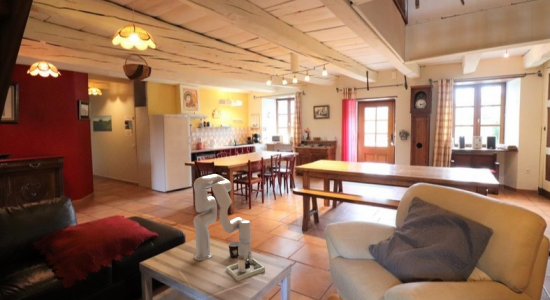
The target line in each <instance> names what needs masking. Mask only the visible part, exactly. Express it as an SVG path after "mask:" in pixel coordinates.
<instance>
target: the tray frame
mask: <svg viewBox="0 0 550 300" xmlns="http://www.w3.org/2000/svg"><path fill="white" fill-rule="evenodd" d="M251 259H252V261H251V262H250V265H251V264H253V265H254V266H256V265H257V266H259V267H260V268H258V269H256V270H254V269H253V270H250V271H248V272H244V273H242V274H239V275H238V274H236V272H235V271H233V270H234V269H236V268H237V269H238V262H237V263H234V264H230V265H228V266H226V269H225V270H226V272H228V273H229V275H230V276H232V277H233V279H234V280H236V281H237V282H239V281H241V280H243V279H246V278H249V277H251V276H254V275H257V274H262V273H265V272H266V267H265V266H264V265H263V264H262V263H261V262H259V261H258V260H256V259H255V258H254V257H251ZM247 261H248V259H247Z"/></svg>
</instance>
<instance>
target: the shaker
mask: <svg viewBox="0 0 550 300" xmlns="http://www.w3.org/2000/svg"><path fill="white" fill-rule="evenodd" d="M237 263H238V267H237V269H238V272H239V273H246V271H247V269H245V263H246V261H245V259H243V258H242V257H241V256H240V255H239V256H238V258H237Z"/></svg>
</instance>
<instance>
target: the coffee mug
mask: <svg viewBox="0 0 550 300" xmlns="http://www.w3.org/2000/svg"><path fill="white" fill-rule="evenodd" d="M238 244H239V240H237V241H236V240H234V241H230V242H228V250H229V257H230V258H231V259H238V256H239V254H238Z"/></svg>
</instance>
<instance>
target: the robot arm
mask: <svg viewBox="0 0 550 300" xmlns="http://www.w3.org/2000/svg"><path fill="white" fill-rule="evenodd" d="M193 182H194V183H193V189H194V203H195V204H194V206H195V211H196V212H197V213H199V214H197V215H195V216H194V218H193V221H192V222H193V226H194V230H195V232H194V233H195V248H196V249H195V250H196V251H195V252H196V254H195V255H194V260H196V261H198V262H203V261H206V260H210V259H211V258H213V253H212V252H211V241H210V240H211V237H210V231H209V228H208V226H210V225H212V224H214V223H216V221H217V218H218V217H219V221H220V224H221V226H222V228H223V230H224V231H225V232H226V233H227V234H231V233H234V232H235V231H238V242H239V244H238V254H239V255H240V256H241V257H242V258H243V259H245V261H246V263H245V269H246V270H248V269H251V264H250V262H251V261H252V259H251V258H252V244H251V243H252V237H251V236H252V234H251V233H252V229H251V228H252V227H251V226H252V225H251V221H250V220H249V219H244V218H242V217H239V216H236V217H233V218H231V219H230V218H229V216H228V210H229V208H230V206H231V205H232V203H233V200H232V198H231V197H230V194H229V192H231V191H232V189H233V188H232V187H233V184H232V182H231V181H230V180H229V179H227V178H225V177H223V176H222V175H220V174H216V173H212V174H207V175H203V176H200V177H198V178H196V179H195V180H194V181H193ZM210 188H211V191H212V193H213V195H214V196H212V195H210V196H209V195H208V191H207V189H210ZM217 204H218V205H217ZM218 206H219V212H218ZM247 260H248V261H247Z"/></svg>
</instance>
